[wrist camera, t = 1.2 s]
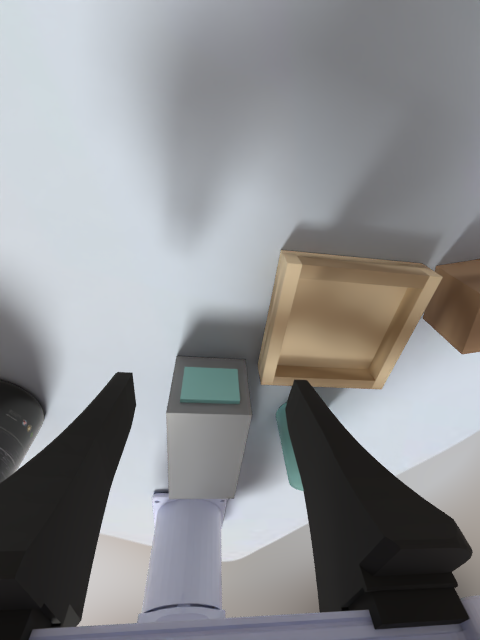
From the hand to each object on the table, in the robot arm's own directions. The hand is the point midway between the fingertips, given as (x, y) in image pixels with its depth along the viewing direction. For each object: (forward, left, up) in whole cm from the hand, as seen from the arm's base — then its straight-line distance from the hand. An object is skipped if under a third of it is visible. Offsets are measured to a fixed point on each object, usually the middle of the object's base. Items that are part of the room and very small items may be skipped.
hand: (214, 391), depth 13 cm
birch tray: (0, -8, -7) cm, 11 cm away
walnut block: (+3, -16, -7) cm, 18 cm away
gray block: (-9, 0, -7) cm, 11 cm away
